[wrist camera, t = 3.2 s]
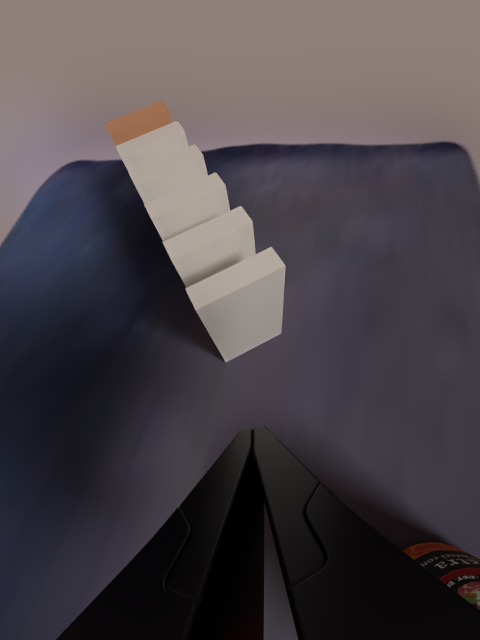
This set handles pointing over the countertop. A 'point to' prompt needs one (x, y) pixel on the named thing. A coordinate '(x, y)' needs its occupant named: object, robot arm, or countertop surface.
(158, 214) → the domino
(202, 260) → the domino
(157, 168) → the domino
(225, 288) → the domino
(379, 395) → the countertop surface
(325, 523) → the robot arm
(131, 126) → the domino
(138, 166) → the domino
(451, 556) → the canned food
